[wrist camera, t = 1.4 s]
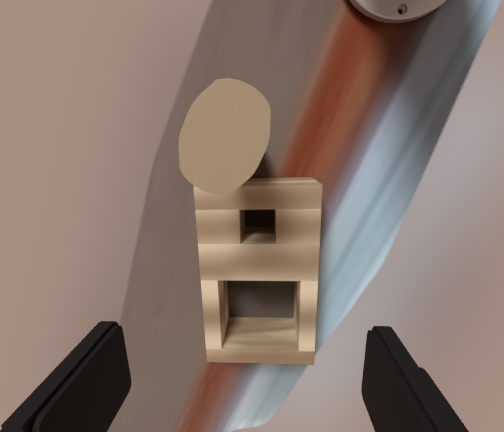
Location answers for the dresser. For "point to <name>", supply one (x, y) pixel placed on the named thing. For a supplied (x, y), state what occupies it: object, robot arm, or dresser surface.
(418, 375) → the robot arm
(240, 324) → the socket block
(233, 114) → the handle
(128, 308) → the dresser surface
